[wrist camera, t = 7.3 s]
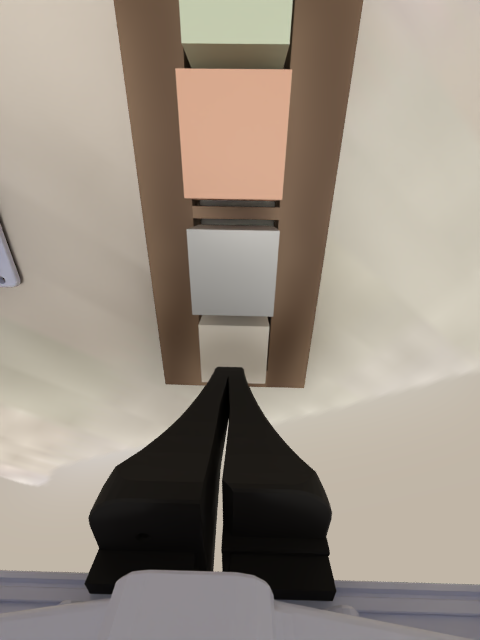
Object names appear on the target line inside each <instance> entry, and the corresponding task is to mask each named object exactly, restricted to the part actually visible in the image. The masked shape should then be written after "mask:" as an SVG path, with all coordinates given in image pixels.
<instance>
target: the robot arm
mask: <svg viewBox="0 0 480 640" xmlns="http://www.w3.org/2000/svg"><path fill="white" fill-rule="evenodd" d="M3 278H4V279H5V281H4V280H3ZM19 284H20V277H19V275H18V272H17V269H16V266H15V264H14V261H13V258H12V255H11V252H10V250H9V247H8V244H7V241H6V238H5V236H4V233H3V230H2V227H1V225H0V287H15V286H18V285H19ZM228 419H229V426H228V436H227V445H226V454H225V462H224V470H223V478H222V493H223V534H222V566H223V567H222V568H223V572H213V566H214V550H215V535H216V521H217V507H218V493H219V479H220V469H221V461H222V455H223V448H224V442H225V437H226V431H227V425H228ZM331 516H332V511H331V507H330V504H329V501H328V498H327V495H326V493H325V490H324V488H323V486H322V484H321V482H320V480H319V477H318V475H317V474H316V472H315V471H314V470H313V469H312V468H311V467H309V466H308V465H307V464H306V463H305V462H304V461H303V460H302V459H301V458H299V456H298V455H297V454H296V453H295V452H294V451H293V450H292V449H291V448H290V447H289V446H288V445H287V444H286V443H285V441H284V440H283V439H282V438H281V437H280V436H279V434H278V433H277V432H276V431H275V430H274V428H273V427H272V425H271V424H270V423H269V421H268V420H267V418H266V417H265V415H264V414H263V412H262V411H261V409H260V407H259V406H258V404H257V402H256V400H255V398H254V396H253V394H252V392H251V390H250V388H249V385H248V382H247V380H246V377H245V373H244V369H243V368H242V367H217V368H215V370H214V372H213V374H212V376H211V378H210V379H209V381H208V383H207V384H206V386H205V387H204V388H203V390H202V391H201V393H200V394H199V395H198V397H197V398H196V399H195V401H194V402H193V403H192V404H191V406H190V407H189V408H188V409H187V410H186V411H185V412H184V413H183V414H182V415H181V417H180V418H179V419H178V420H177V421H176V422H175V423H173V424H172V425H171V426H170V427H169V428H168V429H167V430H166V431H165V432H164V433H162V434H161V435H160V436H159V437H158V438H156V439H155V440H154V441H152V442H151V443H150V444H149V445H147V446H146V447H145V448H143V449H142V450H141V451H139V452H138V453H137V454H135V455H133V456H132V457H130V458H128V459H127V460H125V461H124V462H122V463H121V464H119V465H117V466H116V467H115V469H114V470H113V472H112V473H111V475H110V476H109V478H108V479H107V481H106V483H105V484H104V486H103V488H102V490H101V492H100V494H99V496H98V498H97V500H96V502H95V504H94V506H93V508H92V510H91V512H90V515H89V524H90V527H91V529H92V532H93V534H94V536H95V539H96V541H97V544H98V546H99V550H98V553H97V555H96V557H95V560H94V562H93V564H92V567H91V569H90V572H89V573H71V572H40V571H6V570H0V640H480V585H474V584H473V585H472V584H441V583H408V582H372V581H340V580H334V578H333V575H332V570H331V566H330V562H329V558H328V556H329V554H330V552H329V547H328V542H327V538H326V535H327V532H328V528H329V525H330V521H331Z"/></svg>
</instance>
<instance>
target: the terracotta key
mask: <svg viewBox="0 0 480 640" xmlns="http://www.w3.org/2000/svg"><path fill="white" fill-rule="evenodd" d="M175 71H176V86H177V100H178V114H179V129H180V143H181V158H182V172H183V186H184V198H187V199H195V200H241V201H278V200H282V196H283V183H284V170H285V157H286V144H287V131H288V119H289V106H290V93H291V80H292V69H186V68H175Z"/></svg>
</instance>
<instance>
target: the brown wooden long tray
mask: <svg viewBox="0 0 480 640" xmlns="http://www.w3.org/2000/svg"><path fill="white" fill-rule="evenodd" d="M362 5H363V0H293V4H292V18H291V32H290V45H289V48H288V52H287V56H286V59H285V65H284V69H292V80H291V93H290V106H289V119H288V131H287V144H286V157H285V170H284V183H283V196H282V200H278V201H275V207H230V206H200V200H195V199H187V198H184V186H183V172H182V158H181V143H180V129H179V114H178V100H177V86H176V71H175V68H186V69H192V68H191V66H190V63H189V61H188V58H187V56H186V53H185V51H184V48H183V46H182V43H181V26H180V9H179V0H114V6H115V13H116V21H117V28H118V35H119V43H120V50H121V58H122V65H123V72H124V80H125V87H126V95H127V102H128V109H129V117H130V124H131V132H132V139H133V146H134V154H135V161H136V169H137V176H138V183H139V191H140V198H141V206H142V213H143V220H144V228H145V235H146V243H147V250H148V257H149V265H150V272H151V280H152V287H153V294H154V302H155V309H156V317H157V324H158V331H159V339H160V346H161V354H162V361H163V368H164V376H165V383H166V384H178V385H206V384H207V383H208V382H202V377H201V360H200V344H199V327H198V325H199V322H200V320H201V317H202V315H192V301H191V287H190V273H189V258H188V244H187V230H186V229H188V228H191V227H193V226H196V225H201V218H205V219H261V220H274V227H275V228H277V229H278V230H279V231H280V235H279V248H278V261H277V274H276V287H275V300H274V313H273V317H268V322H269V339H268V353H267V367H266V381H265V384H254V383H248V385H249V386H251V387H288V388H304V384H305V378H306V371H307V365H308V358H309V352H310V345H311V338H312V332H313V325H314V319H315V312H316V306H317V299H318V293H319V286H320V280H321V273H322V267H323V260H324V254H325V247H326V240H327V234H328V227H329V221H330V214H331V208H332V201H333V195H334V188H335V182H336V175H337V169H338V162H339V156H340V149H341V143H342V136H343V129H344V123H345V116H346V110H347V103H348V97H349V90H350V84H351V77H352V71H353V64H354V58H355V51H356V45H357V38H358V31H359V25H360V18H361V12H362Z"/></svg>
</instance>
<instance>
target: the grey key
mask: <svg viewBox="0 0 480 640" xmlns="http://www.w3.org/2000/svg"><path fill="white" fill-rule="evenodd" d="M186 230H187V244H188V258H189V273H190V287H191V301H192V315H224V316H267V317H273V313H274V300H275V287H276V274H277V261H278V248H279V235H280V231H279V230H278V229H277V228H275V227H274V226H255V225H196V226H193V227H191V228H188V229H186Z"/></svg>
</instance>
